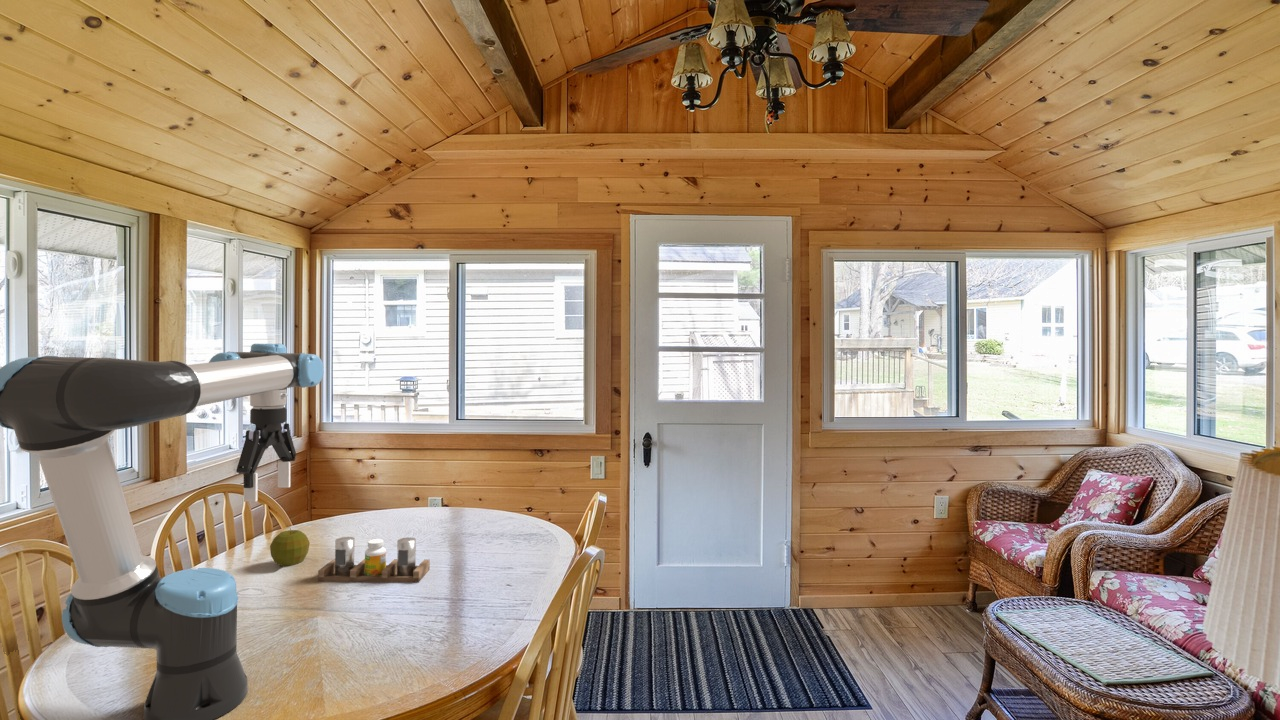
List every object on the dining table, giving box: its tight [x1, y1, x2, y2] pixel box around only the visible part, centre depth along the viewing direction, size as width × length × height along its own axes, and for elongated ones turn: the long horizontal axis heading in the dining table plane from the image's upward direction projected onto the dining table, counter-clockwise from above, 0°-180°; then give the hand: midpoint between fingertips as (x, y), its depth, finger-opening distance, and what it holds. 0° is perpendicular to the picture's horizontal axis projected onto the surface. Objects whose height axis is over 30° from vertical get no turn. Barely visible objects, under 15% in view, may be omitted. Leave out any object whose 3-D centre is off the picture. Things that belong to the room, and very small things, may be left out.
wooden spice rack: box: [317, 558, 431, 583], centre depth 166 cm, size 9×27×4 cm, turn 92°
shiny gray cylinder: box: [334, 536, 355, 576], centre depth 165 cm, size 5×5×10 cm
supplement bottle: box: [364, 538, 387, 576], centre depth 166 cm, size 5×5×10 cm
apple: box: [269, 528, 311, 567], centre depth 175 cm, size 10×10×11 cm
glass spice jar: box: [396, 537, 417, 576], centre depth 166 cm, size 5×5×10 cm
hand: (268, 494), depth 145 cm, fingers open, 13 cm apart
